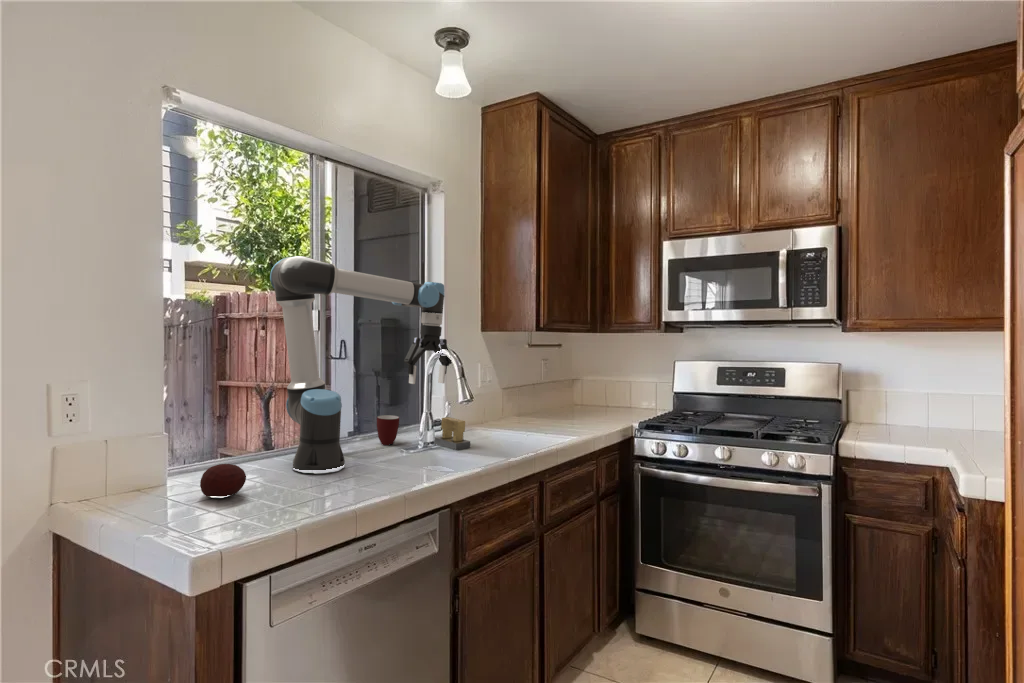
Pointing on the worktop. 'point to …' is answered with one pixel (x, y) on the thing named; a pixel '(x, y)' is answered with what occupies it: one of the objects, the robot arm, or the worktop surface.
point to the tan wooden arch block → (453, 429)
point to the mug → (387, 428)
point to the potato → (222, 480)
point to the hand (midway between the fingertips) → (426, 383)
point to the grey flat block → (452, 443)
